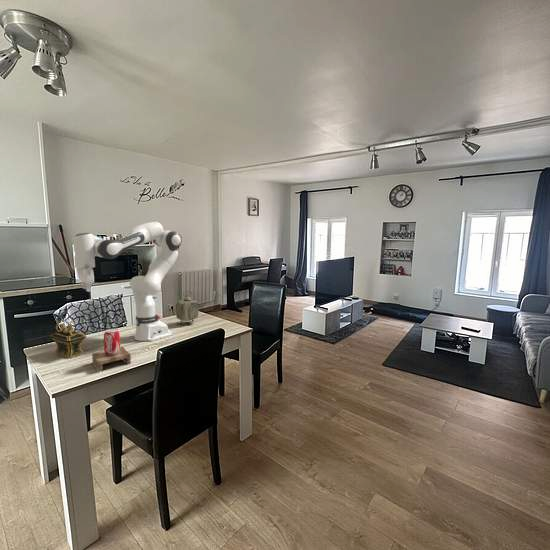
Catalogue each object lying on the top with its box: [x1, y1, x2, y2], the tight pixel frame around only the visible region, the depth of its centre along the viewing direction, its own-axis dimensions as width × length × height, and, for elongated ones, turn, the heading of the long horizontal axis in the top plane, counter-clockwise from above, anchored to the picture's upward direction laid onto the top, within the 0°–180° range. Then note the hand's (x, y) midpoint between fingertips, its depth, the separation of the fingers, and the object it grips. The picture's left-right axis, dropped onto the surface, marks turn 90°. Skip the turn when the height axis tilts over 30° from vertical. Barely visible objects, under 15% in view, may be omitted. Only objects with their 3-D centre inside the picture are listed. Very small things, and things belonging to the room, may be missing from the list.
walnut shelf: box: [91, 346, 131, 373], centre depth 144 cm, size 14×13×5 cm
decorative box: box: [49, 317, 87, 359], centre depth 154 cm, size 20×10×20 cm, turn 65°
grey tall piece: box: [175, 290, 200, 326], centre depth 210 cm, size 14×9×25 cm, turn 136°
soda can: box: [103, 328, 121, 355], centre depth 144 cm, size 7×7×12 cm
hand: (86, 290), depth 151 cm, fingers open, 8 cm apart
